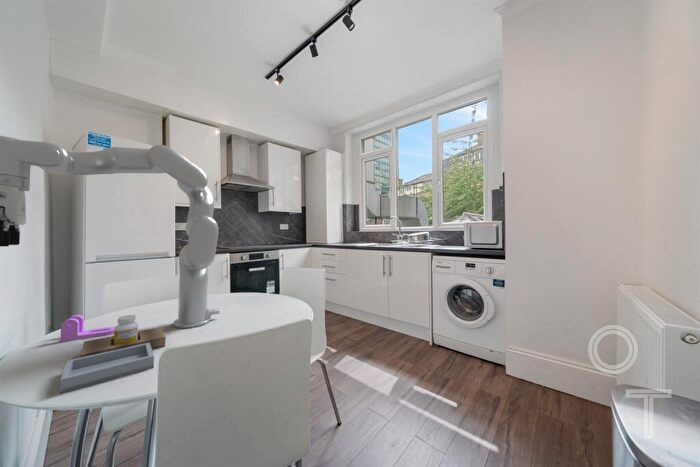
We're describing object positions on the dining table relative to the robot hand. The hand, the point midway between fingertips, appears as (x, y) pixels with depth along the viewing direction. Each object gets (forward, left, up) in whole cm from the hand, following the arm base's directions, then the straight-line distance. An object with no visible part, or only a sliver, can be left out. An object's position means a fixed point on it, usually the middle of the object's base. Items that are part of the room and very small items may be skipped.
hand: (4, 245), depth 67 cm
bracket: (-17, -8, -32) cm, 37 cm away
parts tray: (-22, +26, -31) cm, 46 cm away
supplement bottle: (-25, +13, -31) cm, 42 cm away
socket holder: (-25, +13, -31) cm, 42 cm away
